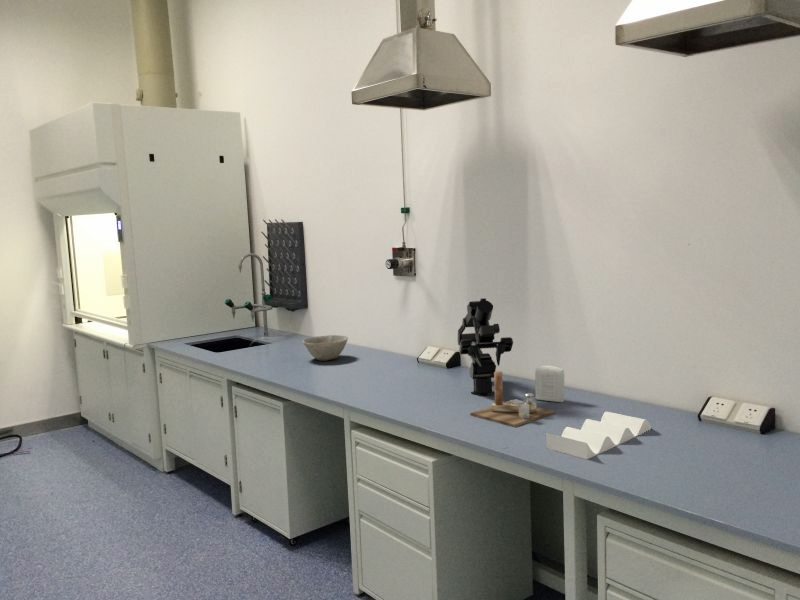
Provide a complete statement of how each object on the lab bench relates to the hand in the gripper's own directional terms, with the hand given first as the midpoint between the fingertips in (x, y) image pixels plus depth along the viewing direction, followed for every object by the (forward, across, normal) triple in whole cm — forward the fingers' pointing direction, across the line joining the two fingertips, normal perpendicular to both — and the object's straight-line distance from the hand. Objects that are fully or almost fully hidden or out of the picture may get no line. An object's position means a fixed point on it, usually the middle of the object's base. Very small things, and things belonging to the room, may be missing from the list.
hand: (490, 365), depth 234 cm
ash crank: (+19, +4, -1) cm, 19 cm away
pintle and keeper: (+22, +8, -4) cm, 24 cm away
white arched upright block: (+10, +21, +9) cm, 25 cm away
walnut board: (+20, +4, 0) cm, 20 cm away
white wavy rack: (+41, +23, -20) cm, 51 cm away
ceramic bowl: (-58, -60, +77) cm, 113 cm away
